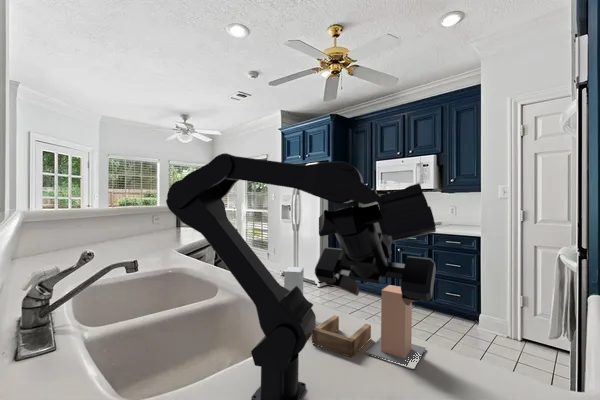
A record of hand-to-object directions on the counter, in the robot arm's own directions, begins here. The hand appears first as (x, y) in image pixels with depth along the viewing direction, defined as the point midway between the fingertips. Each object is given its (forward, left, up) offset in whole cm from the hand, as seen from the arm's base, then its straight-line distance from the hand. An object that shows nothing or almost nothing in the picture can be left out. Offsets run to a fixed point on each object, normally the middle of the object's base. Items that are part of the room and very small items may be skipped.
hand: (382, 297), depth 53 cm
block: (+7, -2, -12) cm, 14 cm away
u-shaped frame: (+8, +9, -13) cm, 17 cm away
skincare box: (+17, +24, -13) cm, 32 cm away
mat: (+7, -2, -13) cm, 15 cm away
